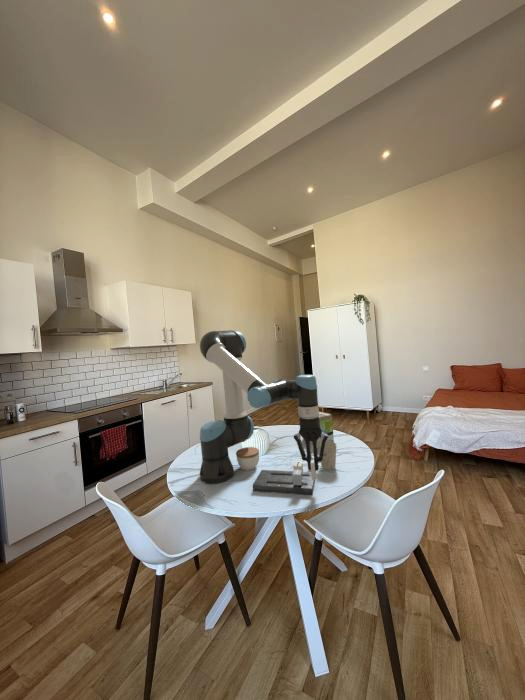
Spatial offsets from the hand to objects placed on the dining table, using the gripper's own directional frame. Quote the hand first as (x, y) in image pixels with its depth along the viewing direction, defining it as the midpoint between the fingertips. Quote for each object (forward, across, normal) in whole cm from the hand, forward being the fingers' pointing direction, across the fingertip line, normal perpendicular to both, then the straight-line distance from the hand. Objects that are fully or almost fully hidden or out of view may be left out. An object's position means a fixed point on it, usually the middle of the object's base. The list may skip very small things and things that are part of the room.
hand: (314, 478), depth 105 cm
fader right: (+2, -6, 0) cm, 6 cm away
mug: (+5, +2, +21) cm, 22 cm away
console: (+5, -12, +4) cm, 14 cm away
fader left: (+2, -7, +7) cm, 10 cm away
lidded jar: (+5, -32, +17) cm, 37 cm away
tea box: (+5, -3, +56) cm, 56 cm away
